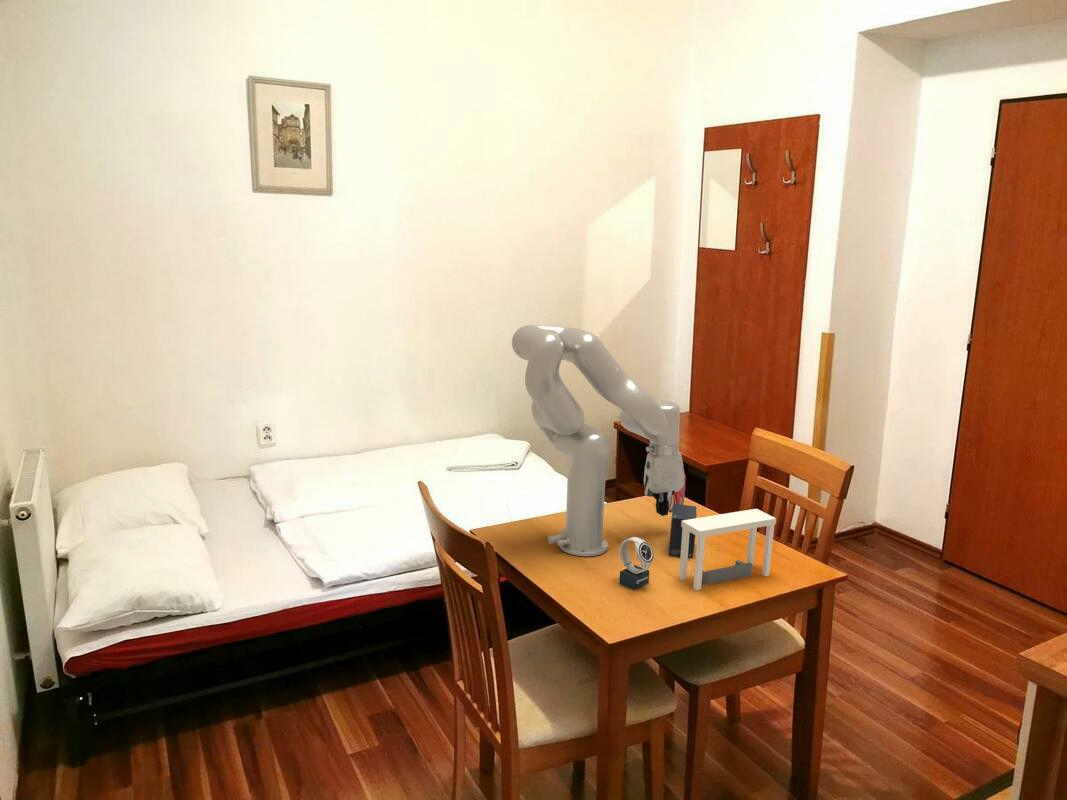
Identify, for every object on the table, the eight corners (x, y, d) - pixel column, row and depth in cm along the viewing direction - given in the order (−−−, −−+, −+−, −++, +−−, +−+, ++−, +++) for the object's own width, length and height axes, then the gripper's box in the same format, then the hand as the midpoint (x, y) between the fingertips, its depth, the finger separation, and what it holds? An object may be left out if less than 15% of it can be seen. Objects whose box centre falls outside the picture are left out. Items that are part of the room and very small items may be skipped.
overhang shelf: (695, 590, 184) (699, 531, 181) (677, 578, 190) (681, 520, 187) (770, 575, 193) (776, 518, 190) (751, 563, 199) (756, 508, 196)
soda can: (656, 504, 240) (658, 465, 237) (679, 503, 240) (682, 465, 238) (662, 512, 233) (665, 472, 230) (686, 512, 233) (689, 472, 231)
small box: (694, 559, 201) (697, 519, 199) (667, 556, 202) (670, 517, 200) (694, 543, 211) (697, 505, 209) (669, 540, 213) (672, 502, 210)
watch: (640, 593, 182) (643, 547, 180) (613, 581, 188) (615, 537, 185) (655, 585, 186) (658, 541, 183) (628, 574, 191) (630, 531, 189)
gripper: (647, 456, 205) (646, 523, 209) (696, 448, 211) (693, 514, 216) (632, 448, 212) (630, 513, 216) (679, 441, 218) (677, 504, 222)
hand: (662, 513), depth 216 cm, fingers closed
